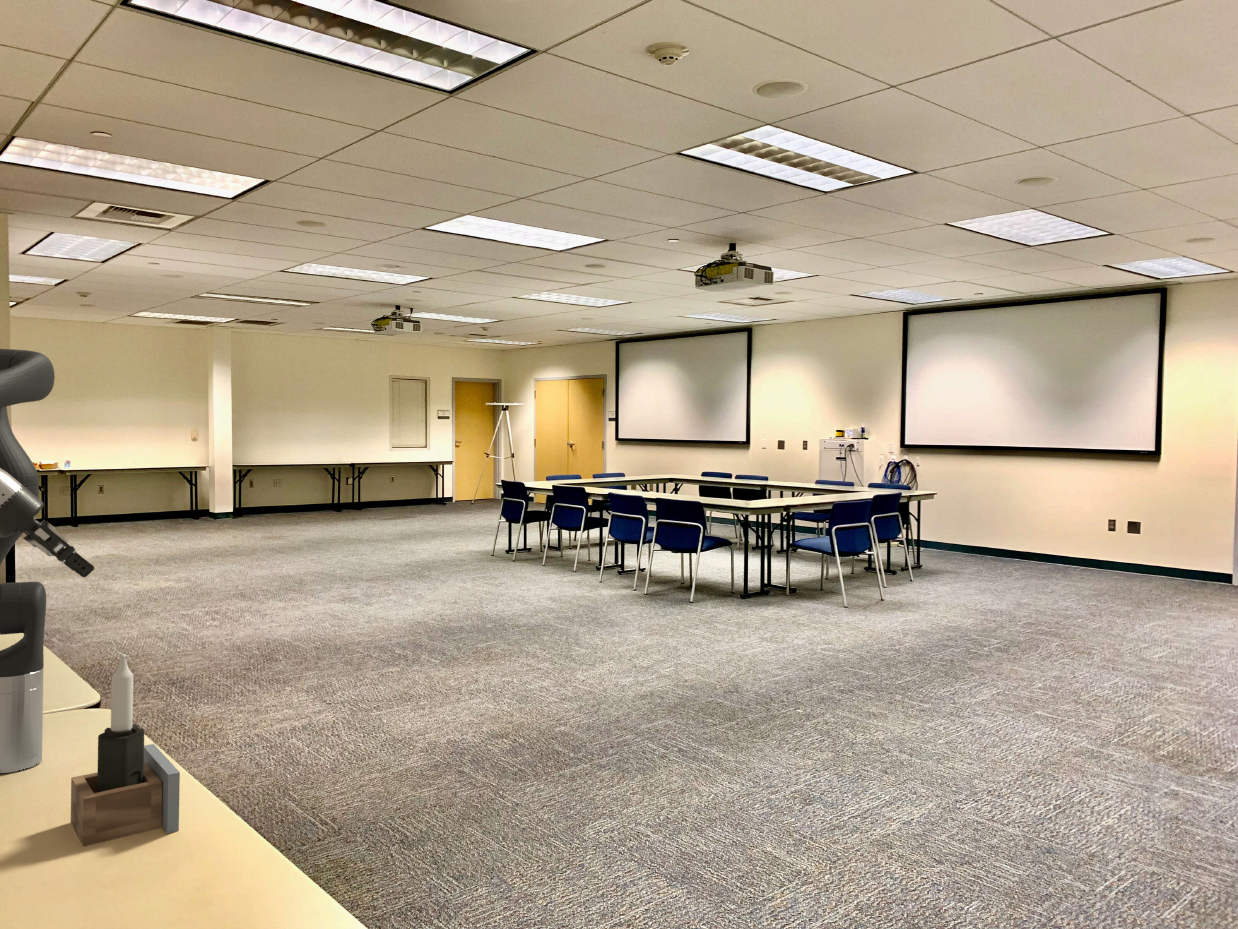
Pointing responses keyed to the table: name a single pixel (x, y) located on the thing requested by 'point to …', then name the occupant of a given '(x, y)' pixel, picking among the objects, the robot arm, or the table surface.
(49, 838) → the table surface
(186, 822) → the table surface
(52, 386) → the robot arm
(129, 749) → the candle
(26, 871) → the table surface
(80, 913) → the table surface
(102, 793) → the socket block
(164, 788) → the backstop wall
